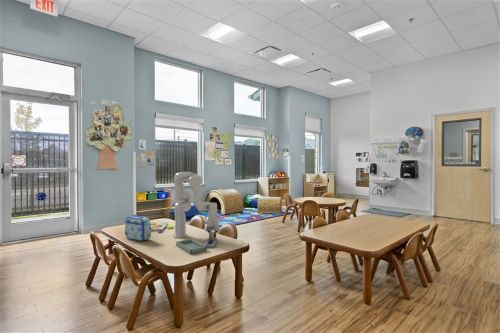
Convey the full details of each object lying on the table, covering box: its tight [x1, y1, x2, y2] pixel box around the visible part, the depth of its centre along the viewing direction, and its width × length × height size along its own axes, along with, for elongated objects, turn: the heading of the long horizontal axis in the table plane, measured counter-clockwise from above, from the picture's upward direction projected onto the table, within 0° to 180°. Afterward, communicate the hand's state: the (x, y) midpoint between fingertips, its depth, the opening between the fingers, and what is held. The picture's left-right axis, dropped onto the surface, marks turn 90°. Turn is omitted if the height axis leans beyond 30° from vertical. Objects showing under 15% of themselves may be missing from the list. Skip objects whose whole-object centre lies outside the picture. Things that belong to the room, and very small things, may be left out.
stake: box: [206, 226, 214, 245], centre depth 226 cm, size 2×6×16 cm, turn 128°
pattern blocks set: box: [151, 222, 174, 234], centre depth 281 cm, size 38×34×3 cm
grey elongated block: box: [203, 231, 218, 249], centre depth 230 cm, size 21×8×7 cm, turn 177°
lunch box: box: [124, 214, 152, 242], centre depth 244 cm, size 26×11×21 cm, turn 58°
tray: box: [175, 238, 207, 255], centre depth 219 cm, size 26×13×4 cm, turn 38°
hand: (212, 237), depth 239 cm, fingers closed on grey elongated block, 3 cm apart
